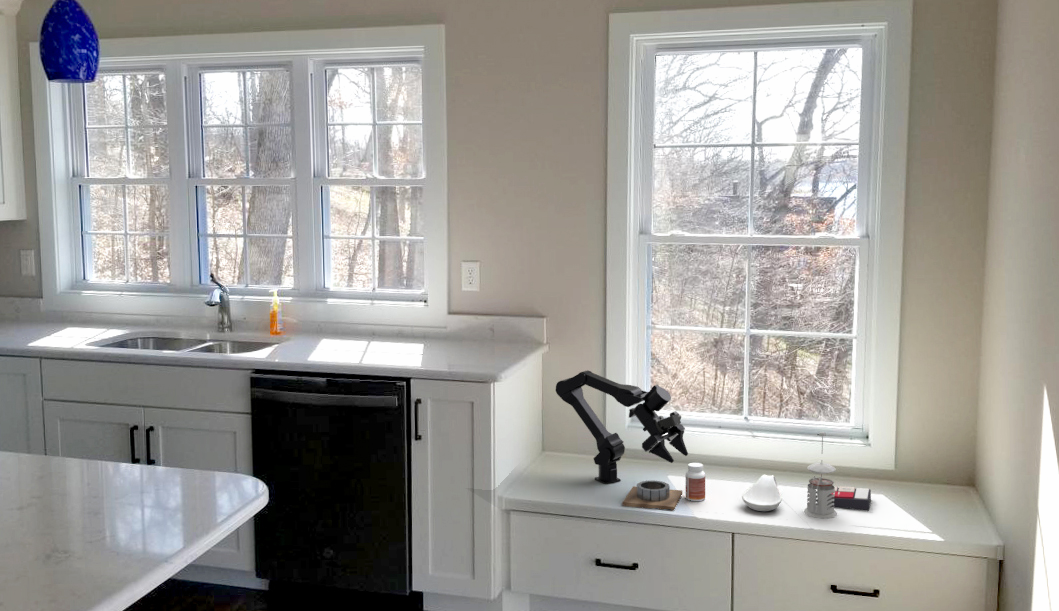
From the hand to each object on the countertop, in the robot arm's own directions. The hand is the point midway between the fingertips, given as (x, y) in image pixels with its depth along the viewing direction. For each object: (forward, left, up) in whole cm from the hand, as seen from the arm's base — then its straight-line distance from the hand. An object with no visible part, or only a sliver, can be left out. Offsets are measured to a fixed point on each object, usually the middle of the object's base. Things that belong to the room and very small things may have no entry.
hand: (680, 458), depth 309 cm
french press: (+35, +25, -12) cm, 45 cm away
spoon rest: (+19, +18, -13) cm, 29 cm away
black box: (+32, +39, -13) cm, 52 cm away
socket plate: (-1, -10, -12) cm, 16 cm away
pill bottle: (+5, +2, -12) cm, 14 cm away
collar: (-1, -10, -11) cm, 15 cm away
